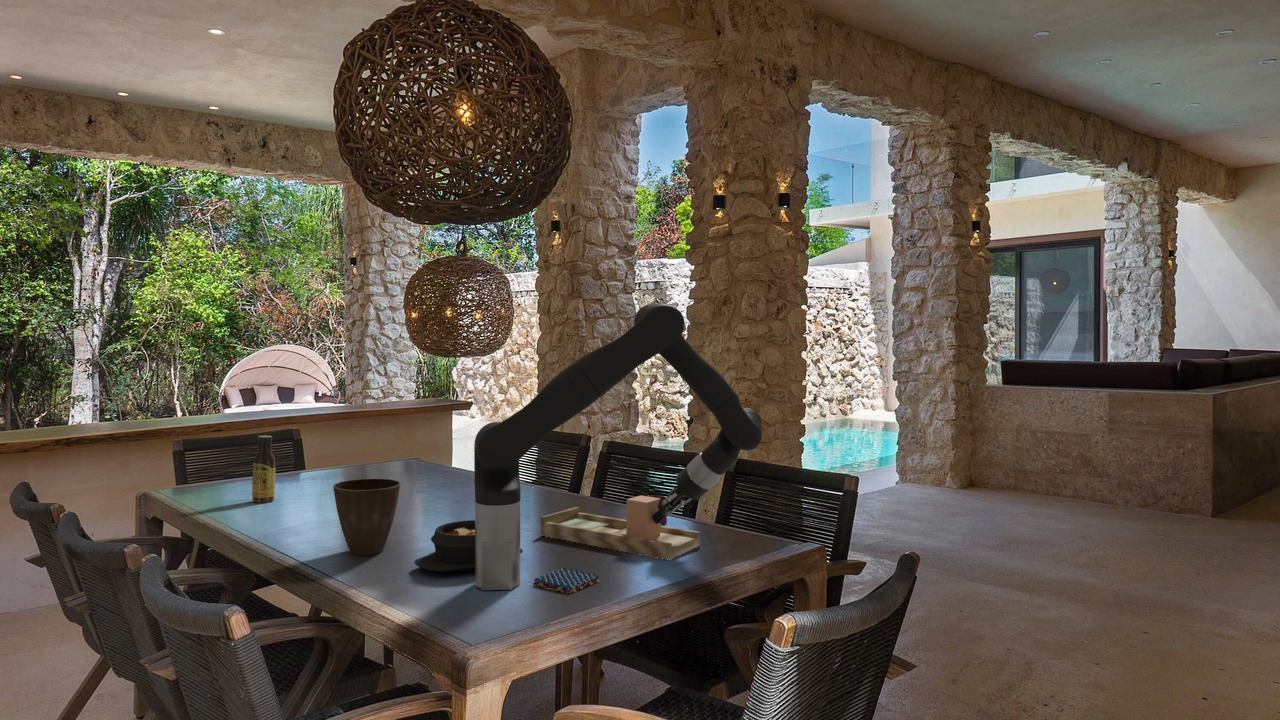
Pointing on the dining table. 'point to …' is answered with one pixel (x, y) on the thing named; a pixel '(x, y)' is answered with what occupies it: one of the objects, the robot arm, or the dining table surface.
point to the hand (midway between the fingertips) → (655, 520)
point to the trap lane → (616, 534)
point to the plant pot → (366, 512)
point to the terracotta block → (642, 517)
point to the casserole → (452, 548)
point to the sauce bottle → (264, 472)
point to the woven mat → (565, 580)
